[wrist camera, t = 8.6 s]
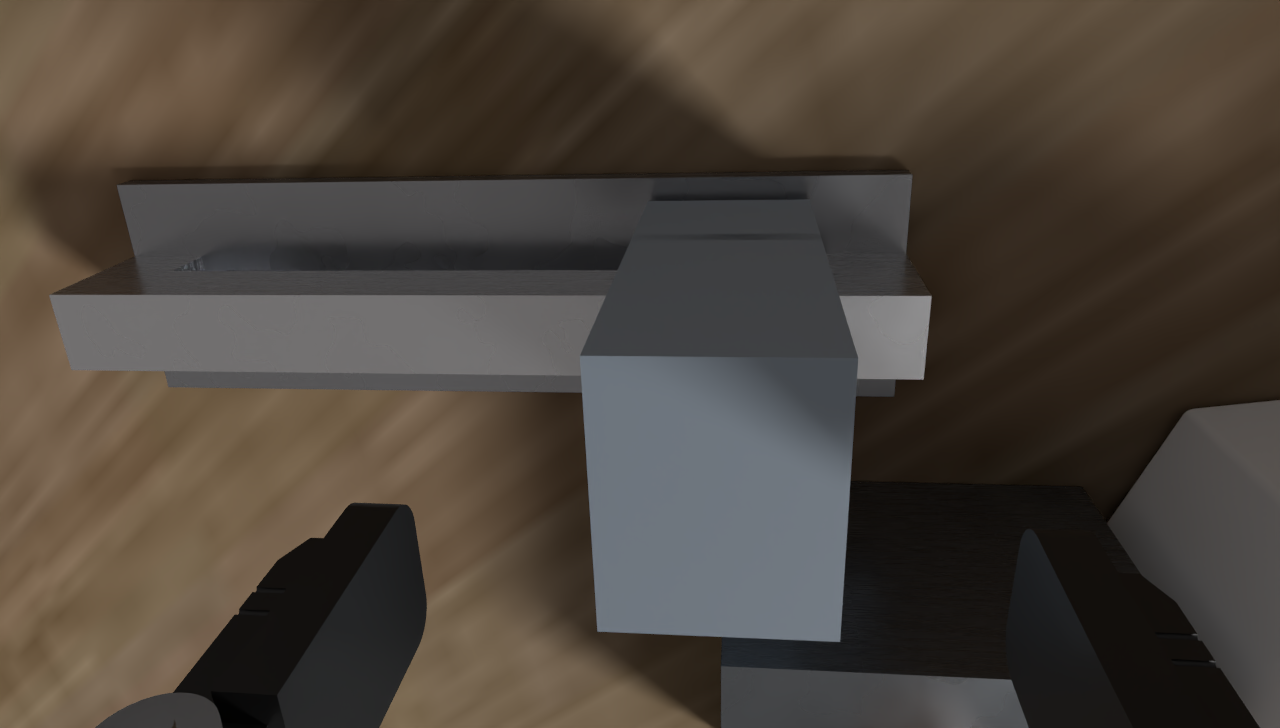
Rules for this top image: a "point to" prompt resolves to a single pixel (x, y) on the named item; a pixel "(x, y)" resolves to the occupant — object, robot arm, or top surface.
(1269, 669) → the jar
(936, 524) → the block with square hole
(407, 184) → the rail
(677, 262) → the block
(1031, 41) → the top surface
